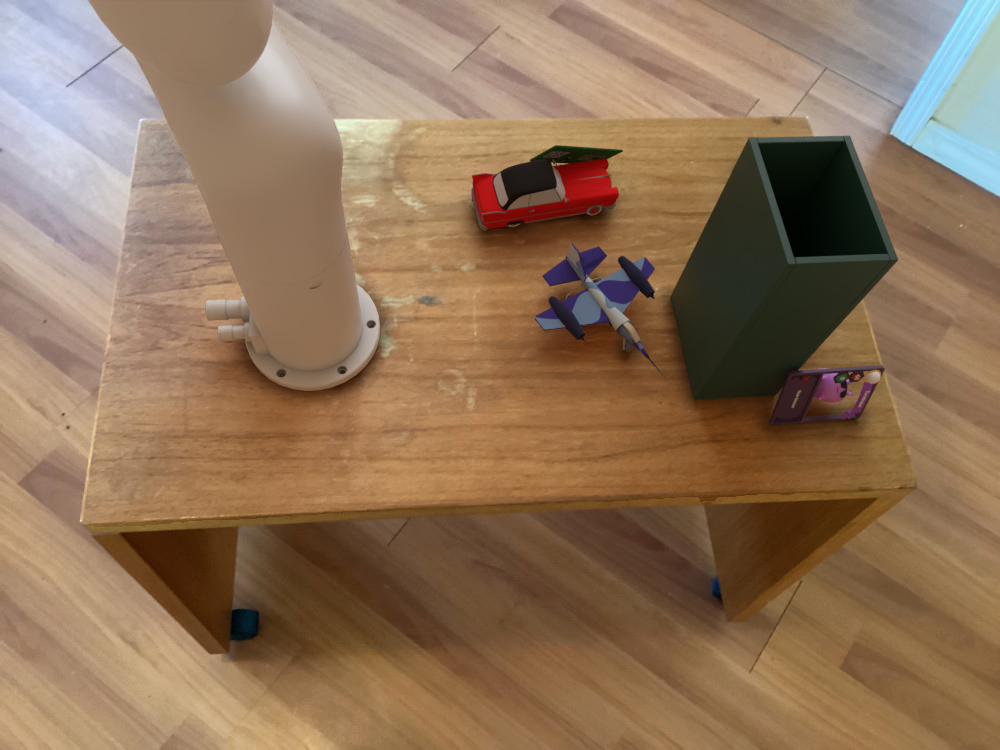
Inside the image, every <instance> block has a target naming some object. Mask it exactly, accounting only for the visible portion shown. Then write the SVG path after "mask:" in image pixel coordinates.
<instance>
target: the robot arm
mask: <svg viewBox="0 0 1000 750" xmlns="http://www.w3.org/2000/svg"><path fill="white" fill-rule="evenodd" d="M87 1H88V3H89V4H90V6H91V7H92V8H93V10H94V12H95V13H96V15H97V17H98V18H99V19H100V21H101V23H102V24H103V25H104V26H105V27H106V28H107V30H109V32H110V33H111V34H112V36H113V37H114V38H116V40H117V41H118V42H119V43H120V44H121V45H122V46H123V47H124V48H125V49H126V50H128V51H129V53H130V54H131V55H133V57H134V58H135V60H136V62H137V64H138V66H139V67H140V69H141V72H142V73H143V75H144V77H145V79H146V81H147V83H148V85H149V87H150V88H151V91H152V92H153V94H154V97H155V99H156V101H157V103H158V105H159V106H160V109H161V110H162V113H163V116H164V119H165V121H166V123H167V125H168V127H169V129H170V131H171V132H172V135H173V136H174V139H175V141H176V143H177V145H178V147H179V149H180V151H181V153H182V155H183V157H184V160H185V162H186V164H187V166H188V168H189V170H190V172H191V175H192V177H193V179H194V181H195V183H196V186H197V188H198V190H199V193H200V194H201V197H202V199H203V201H204V204H205V205H206V208H207V211H208V214H209V217H210V220H211V223H212V225H213V227H214V230H215V232H216V235H217V237H218V240H219V242H220V244H221V247H222V249H223V252H224V255H225V256H226V258H227V260H228V262H229V264H230V267H231V269H232V271H233V274H234V276H235V279H236V281H237V284H238V286H239V289H240V291H241V293H242V295H241V297H240V299H227V298H224V299H223V298H222V299H206V301H205V305H204V306H205V307H204V309H205V316H206V319H207V321H212V322H213V321H229V320H233V319H235V320H237V319H242V322H243V323H244V324H243V325H234V324H229V325H227V324H225V325H218V326H217V338H218V340H219V341H220V342H223V341H225V342H226V341H227V342H228V341H235V340H244V342H245V347H246V349H247V352H248V355H249V357H250V359H251V361H252V363H253V364H254V366H255V367H256V368H257V369H258V371H259V372H260V374H262V375H264V376H265V377H266V378H267V379H268V380H269V381H272V382H273V383H275V384H277V385H279V386H281V387H283V388H288V389H291V390H296V391H304V392H309V391H311V392H313V391H321V390H326V389H331V388H334V387H337V386H339V385H342V384H344V383H346V382H348V381H349V380H351V379H353V378H354V377H356V376H357V375H359V373H360V372H361V371H362V370H363V369H365V367H366V366H367V365H368V364H369V363H370V362H371V360H372V358H373V357H374V355H375V353H376V350H377V349H378V345H379V341H380V338H381V323H380V322H381V321H380V316H379V313H378V309H377V306H376V304H375V303H374V301H373V299H372V297H371V296H370V295H369V294H368V293H367V292H366V290H365V289H364V288H363V287H362V286H360V285H359V284H357V279H356V273H355V267H354V261H353V256H352V255H353V254H352V249H351V245H350V238H349V232H348V227H347V221H346V215H345V210H344V204H343V195H342V177H343V166H344V151H343V150H344V149H343V143H342V140H341V136H340V131H339V129H338V127H337V124H336V122H335V119H334V116H333V115H332V112H331V111H330V109H329V106H328V104H327V103H326V101H325V100H324V97H323V96H322V94H321V92H320V91H319V89H318V87H317V86H316V83H315V82H314V81H313V79H312V78H311V76H310V75H309V73H308V71H307V69H306V68H305V67H304V65H303V63H302V62H301V60H300V58H299V57H298V55H297V53H296V52H295V51H294V49H292V47H291V46H290V44H289V42H288V41H287V39H286V38H285V36H284V34H283V32H282V31H281V30H280V28H279V26H278V25H277V23H276V21H275V20H274V17H273V15H274V0H87Z"/></svg>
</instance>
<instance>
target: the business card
mask: <svg viewBox="0 0 1000 750" xmlns="http://www.w3.org/2000/svg"><path fill="white" fill-rule="evenodd" d="M623 152H624V150H623V149H617V148H602V147H587V146H574V145H558V144H556V145H554V146H551V147H549V148H548V149H545V151H544V150H543V152H541V153H539V154H537V155H535V156H534V157H532V158H530V159H529V162H531V161H535V160H542V159H548V160H549V161H550V162H551V164H553V159H554V160H555V161H557V162H555V164H570V163H577V162H584V161H591V160H597V159H604V158H607V160H609V159H610V158H613V157H615V156H618V155H619V154H621V153H623Z"/></svg>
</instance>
